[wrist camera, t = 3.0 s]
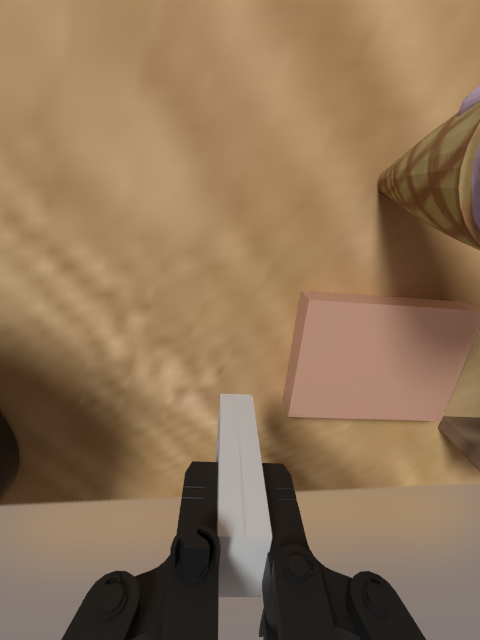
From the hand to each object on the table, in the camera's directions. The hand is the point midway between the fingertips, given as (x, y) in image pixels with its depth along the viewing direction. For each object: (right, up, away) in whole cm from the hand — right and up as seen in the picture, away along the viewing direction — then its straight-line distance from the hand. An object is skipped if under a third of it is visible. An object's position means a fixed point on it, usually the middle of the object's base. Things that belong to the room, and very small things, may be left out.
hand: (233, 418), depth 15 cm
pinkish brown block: (+10, +2, +9) cm, 14 cm away
